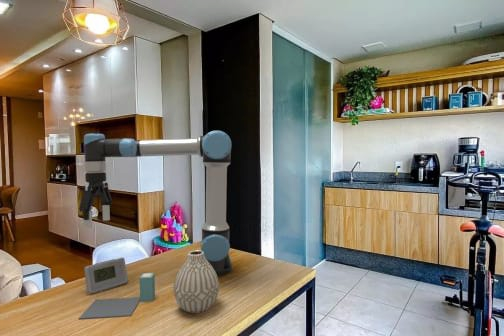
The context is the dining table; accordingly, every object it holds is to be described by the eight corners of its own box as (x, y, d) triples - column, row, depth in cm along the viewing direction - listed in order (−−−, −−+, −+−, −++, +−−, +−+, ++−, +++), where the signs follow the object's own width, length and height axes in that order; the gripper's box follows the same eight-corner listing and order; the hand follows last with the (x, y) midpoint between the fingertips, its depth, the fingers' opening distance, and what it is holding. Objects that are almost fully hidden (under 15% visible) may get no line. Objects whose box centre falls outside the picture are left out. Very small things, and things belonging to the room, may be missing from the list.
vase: (181, 296, 115) (180, 245, 114) (222, 296, 115) (221, 245, 114) (168, 319, 99) (166, 260, 98) (215, 319, 99) (214, 260, 98)
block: (155, 295, 116) (154, 272, 116) (152, 300, 112) (151, 277, 112) (143, 296, 116) (142, 272, 116) (140, 301, 112) (139, 277, 111)
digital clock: (86, 296, 116) (85, 269, 116) (84, 288, 124) (83, 263, 123) (129, 286, 125) (129, 261, 125) (125, 278, 133) (125, 255, 132)
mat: (141, 298, 114) (141, 297, 114) (131, 316, 101) (130, 315, 101) (95, 300, 113) (95, 299, 113) (78, 319, 100) (78, 318, 100)
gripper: (102, 170, 133) (104, 217, 134) (66, 174, 108) (69, 231, 109) (119, 170, 133) (121, 217, 134) (86, 173, 108) (89, 231, 109)
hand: (97, 224), depth 122 cm, fingers open, 13 cm apart
